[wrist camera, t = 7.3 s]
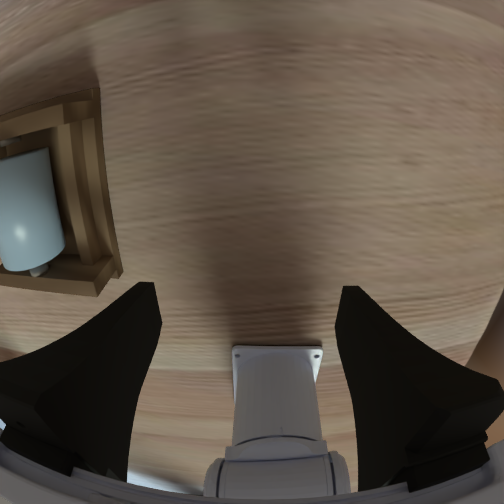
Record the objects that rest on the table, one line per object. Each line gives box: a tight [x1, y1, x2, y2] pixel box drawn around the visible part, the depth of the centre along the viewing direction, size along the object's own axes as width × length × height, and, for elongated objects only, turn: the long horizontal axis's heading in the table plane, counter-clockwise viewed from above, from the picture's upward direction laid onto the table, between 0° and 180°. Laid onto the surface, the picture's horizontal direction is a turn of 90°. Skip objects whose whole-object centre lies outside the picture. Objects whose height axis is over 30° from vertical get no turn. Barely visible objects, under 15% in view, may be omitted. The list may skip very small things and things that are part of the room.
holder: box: [0, 88, 123, 297], centre depth 18 cm, size 14×11×4 cm
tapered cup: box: [0, 147, 66, 271], centre depth 16 cm, size 7×5×5 cm
